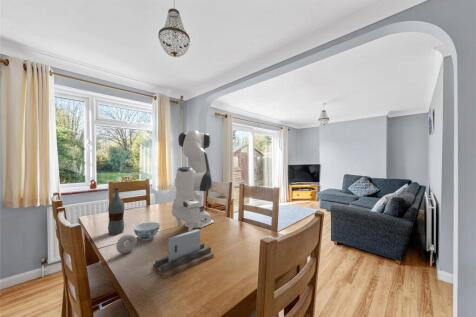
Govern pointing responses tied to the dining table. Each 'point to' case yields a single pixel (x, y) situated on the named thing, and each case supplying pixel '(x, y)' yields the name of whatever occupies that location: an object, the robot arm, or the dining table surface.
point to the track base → (184, 266)
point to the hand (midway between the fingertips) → (184, 228)
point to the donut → (122, 240)
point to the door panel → (183, 244)
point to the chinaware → (146, 230)
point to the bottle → (116, 214)
